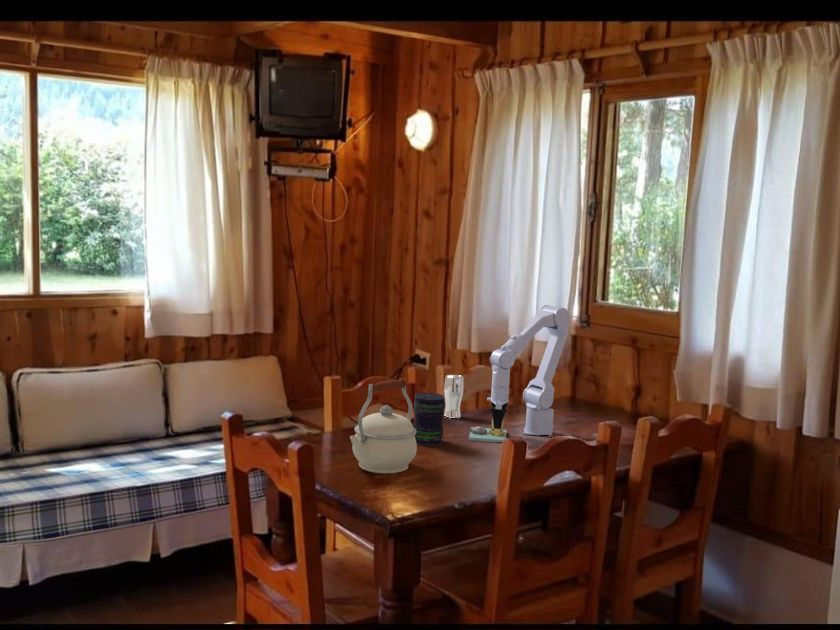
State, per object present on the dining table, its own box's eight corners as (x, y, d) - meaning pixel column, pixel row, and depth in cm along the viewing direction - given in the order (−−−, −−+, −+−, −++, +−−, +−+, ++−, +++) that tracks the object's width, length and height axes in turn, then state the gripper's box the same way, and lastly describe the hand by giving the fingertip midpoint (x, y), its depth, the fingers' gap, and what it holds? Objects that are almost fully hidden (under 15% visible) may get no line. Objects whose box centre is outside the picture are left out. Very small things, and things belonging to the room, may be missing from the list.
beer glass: (462, 415, 304) (464, 375, 303) (461, 419, 298) (463, 378, 296) (443, 413, 305) (445, 374, 303) (441, 418, 298) (444, 377, 297)
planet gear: (505, 432, 278) (505, 418, 277) (504, 436, 273) (505, 422, 272) (489, 431, 279) (489, 417, 278) (488, 435, 273) (489, 420, 273)
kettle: (385, 452, 250) (389, 371, 248) (432, 466, 239) (437, 381, 236) (325, 468, 231) (329, 381, 228) (374, 484, 220) (378, 392, 217)
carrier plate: (506, 432, 282) (507, 421, 282) (505, 443, 268) (506, 431, 268) (471, 429, 284) (472, 418, 283) (468, 440, 270) (469, 428, 269)
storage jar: (422, 435, 272) (424, 391, 270) (448, 441, 267) (450, 396, 266) (406, 442, 264) (408, 396, 262) (432, 447, 259) (435, 400, 257)
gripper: (489, 380, 281) (486, 419, 283) (487, 389, 267) (484, 430, 269) (509, 382, 281) (507, 421, 282) (509, 390, 266) (506, 431, 268)
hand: (497, 425), depth 275 cm, fingers open, 7 cm apart
